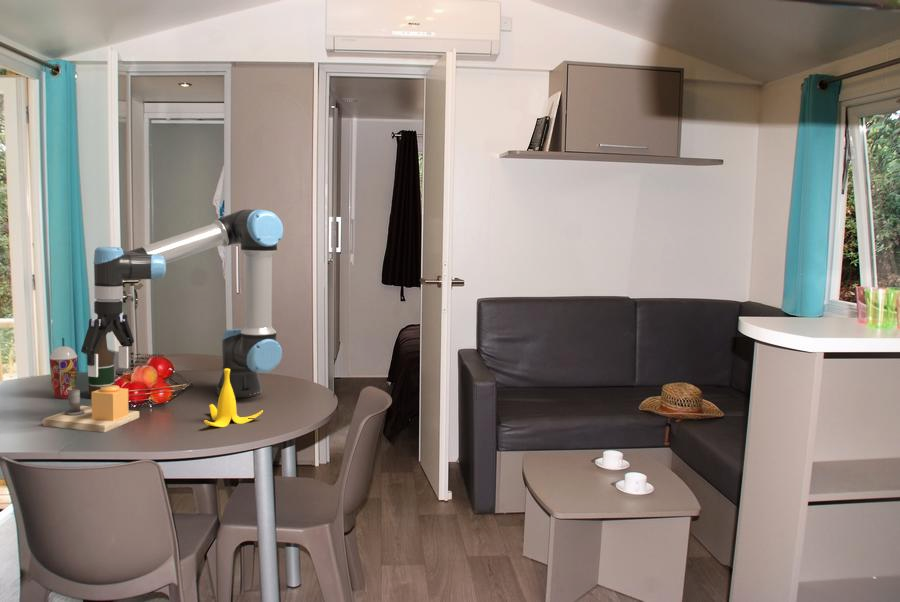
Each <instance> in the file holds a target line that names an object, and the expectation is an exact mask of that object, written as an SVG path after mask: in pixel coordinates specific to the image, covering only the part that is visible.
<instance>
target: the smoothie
mask: <svg viewBox="0 0 900 602" xmlns="http://www.w3.org/2000/svg"><path fill="white" fill-rule="evenodd" d="M61 342H62V345H60V346H57V347H56V348H54V350H53V351H52V352H51V353H50V356H49V357H48V358H49V369H50V370H49V371H50V378H51V388H52V390H51V391H52V394H53V396H54V398H55V399H60V400H62V399H63V400H65V399H66V400H67V399H69V390H72V389H77V378H78V377H77V376H78V373H77V372H78V357H79V356H78V355H77V352H76V351H75V350H74V349H73V348H72V347H70V346H66V345H65V337H62V338H61Z"/></svg>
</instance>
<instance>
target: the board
mask: <svg viewBox="0 0 900 602" xmlns="http://www.w3.org/2000/svg"><path fill="white" fill-rule="evenodd" d="M137 419H140V410H139V411H138V410H130V409H128V415H127V416H125V417H122V418H120V419H117V420H115V421H107V420H97V419H92V406H91V405H90V406H86V405H81V390H80V389H78V388H76V389H72V390H69V398H68V410H65V411H62V412H60V413H56V414H54V415H51V416H49V417H45V418H42V426H43V427H50V428H60V429H69V430H77V431H78V430H80V431H88V432H97V433H106V432H110V431H111V430H113V429H116V428H119V427H120V426H123V425H126V424H127V423H130V422H133V421H135V420H137Z"/></svg>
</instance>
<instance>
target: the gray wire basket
mask: <svg viewBox="0 0 900 602" xmlns="http://www.w3.org/2000/svg"><path fill="white" fill-rule="evenodd" d="M108 351H109V352H110V353H111V355H112V357H113V361H114V379H116V377H118V376H119V375H123V374H122V373H123V372H125V373H127V371H128V369H129V367H130V371H131V372H133V371H132V370H133V368H134V367H135V368H136V366H142V365H141V364H145V363H146V361H141V360H149V359H150V357H149V356H152V357H153V356H154V357H156V356H157V357H164V354H159V353H158V354H151V353H144V356H148V357H135V362H134V357H133V356H134V355H135V356H141V355H142V353H136V354H134V352H131V353H130V356H131V357H129V356H128V368H119V351H116V350H113V349H110V348H108ZM131 358H132V359H131ZM138 360H139V361H138ZM140 361H141V362H140ZM134 363H135V364H134ZM137 363H138V364H140V365H136V364H137ZM129 365H130V366H129Z"/></svg>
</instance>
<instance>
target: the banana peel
mask: <svg viewBox="0 0 900 602" xmlns="http://www.w3.org/2000/svg"><path fill="white" fill-rule="evenodd" d="M224 375H225V379H224V384H223V387H222V389H221V392H220V396H219V395H218V396H219V397H218V401H217V406H215V405H214V404H213V403H211V404H209V407H208V408H209V412H210V416H211V419H212V420H213V421H208V420H207V419H204V420H203V422H204V424H205V425H206V426H211V427H216V428H225V427H228V426H229V425H230V422H231V420H232V421H233V422H234V424H237V425H239V424H240V425H241V424H246V423H249V422H251V421H253V420H254V419H248V418H255V419H256V418H257V417H259V416H260V415H261V414H263V412H264V410H260V411H259V412H257V413H255V414H252V415H250V416H243V417H242V416H241V417H240V416H239V415H238V413H237V412H238V411H237V401H236V398H235V396H234V392H233V389H232V387H231V384H230V379H229V375H230V369H228V368H226V369H224Z"/></svg>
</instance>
